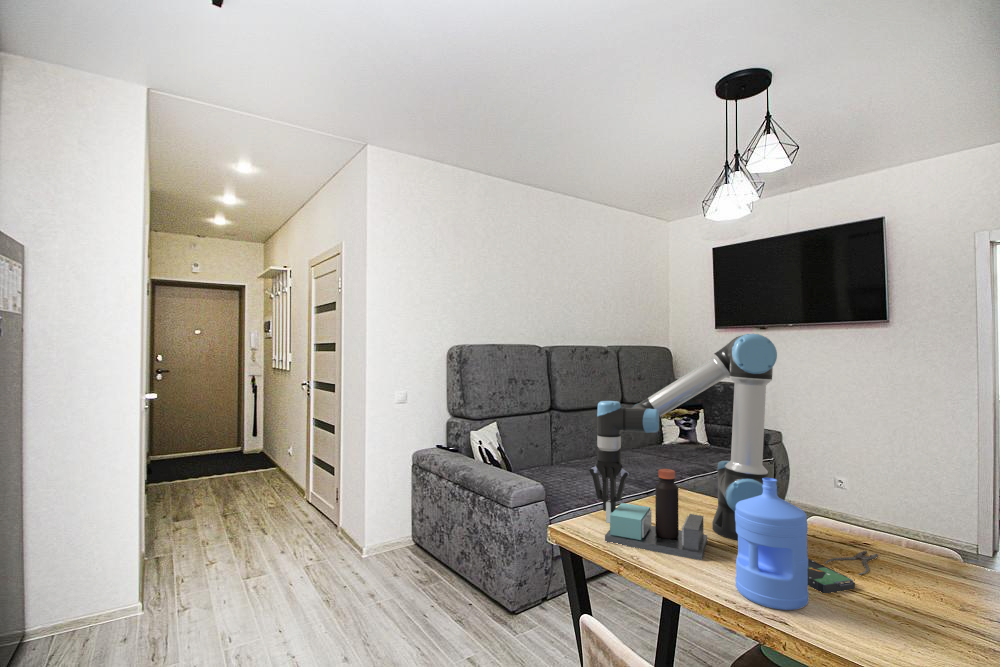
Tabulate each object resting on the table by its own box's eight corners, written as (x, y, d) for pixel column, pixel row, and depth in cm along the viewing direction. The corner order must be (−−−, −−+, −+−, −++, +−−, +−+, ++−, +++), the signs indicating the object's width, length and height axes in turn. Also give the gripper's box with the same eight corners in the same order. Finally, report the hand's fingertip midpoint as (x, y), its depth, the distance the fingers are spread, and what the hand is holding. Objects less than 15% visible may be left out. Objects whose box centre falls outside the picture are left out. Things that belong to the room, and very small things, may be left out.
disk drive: (774, 571, 135) (825, 596, 121) (774, 560, 135) (824, 584, 121) (804, 566, 138) (856, 590, 124) (804, 556, 138) (856, 579, 124)
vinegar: (680, 534, 154) (680, 469, 155) (675, 541, 148) (675, 473, 149) (658, 530, 158) (658, 467, 159) (653, 536, 152) (652, 471, 153)
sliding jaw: (652, 526, 161) (651, 507, 161) (642, 540, 148) (642, 520, 149) (621, 520, 165) (621, 502, 166) (610, 534, 153) (610, 515, 153)
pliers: (822, 563, 137) (839, 544, 151) (823, 567, 137) (839, 547, 151) (865, 575, 130) (878, 553, 144) (865, 578, 130) (878, 556, 144)
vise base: (707, 541, 154) (707, 515, 154) (701, 560, 140) (701, 532, 140) (618, 525, 167) (618, 502, 167) (604, 541, 153) (604, 515, 153)
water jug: (761, 575, 131) (760, 469, 132) (823, 602, 117) (821, 483, 118) (721, 587, 124) (720, 475, 125) (781, 618, 110) (780, 491, 111)
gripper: (631, 448, 161) (632, 521, 161) (593, 444, 168) (593, 515, 167) (626, 452, 155) (626, 528, 154) (586, 448, 161) (586, 521, 160)
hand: (609, 521), depth 160 cm, fingers closed
